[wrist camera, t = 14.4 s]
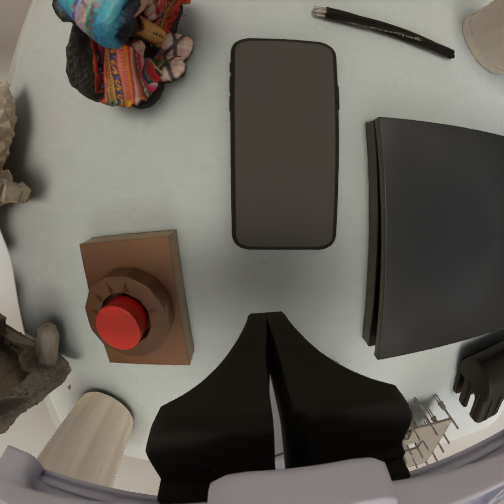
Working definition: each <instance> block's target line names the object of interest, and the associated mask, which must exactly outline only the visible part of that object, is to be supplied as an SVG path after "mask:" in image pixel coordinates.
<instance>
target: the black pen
mask: <svg viewBox="0 0 504 504" xmlns="http://www.w3.org/2000/svg"><path fill="white" fill-rule="evenodd" d="M314 8H317V9H321V10H317V9H313V11H314V12H320V13H323V14H319V13H313V15H317V16H322V17H325V18H327V19H332V20H337V21H342V22H347V23H350V24H355V25H360V26H363V27H366V28H370V29H373V30H376V31H379V32H382V33H385V34H388V35H391V36H394V37H396V38H399V39H402V40H405V41H408V42H411V43H413V44H416V45H419V46H422V47H424V48H427V49H430V50H433V51H435V52H437V53H439V54H441V55H443V56H445V57H447V58H449V59H451V58H454V57H455V55H454V53H455V51H454V50H452V49H450V48H448V47H445V46H443V45H440V44H438V43H435V42H433V41H431V40H429V39H427V38H425V37H423V36H420V35H418V34H416V33H413V32H411V31H408V30H406V29H403V28H400V27H397V26H394V25H391V24H388V23H385V22H381V21H378V20H374V19H370V18H366V17H362V16H359V15H355V14H352V13H349V12H345V11H341V10H337V9H333V8H329V7H326V8H324V7H318V6H315V7H314ZM322 10H326V11H322Z"/></svg>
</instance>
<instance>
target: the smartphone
mask: <svg viewBox="0 0 504 504" xmlns="http://www.w3.org/2000/svg"><path fill="white" fill-rule="evenodd" d="M230 72H231V77H230V93H231V96H230V122H231V212H232V238H233V240H234V242H235V244H236V245H237V246H239V247H241V248H244V249H249V250H320V249H325V248H327V247H329V246H331V245H332V244H333V242H334V240H335V237H336V224H337V203H338V170H339V113H338V110H339V86H338V83H337V64H336V54H335V52H334V50H333V49H332V48H331V47H330V46H328V45H327V44H324V43H321V42H313V41H301V40H287V39H260V38H248V39H242V40H239V41H237V42H236V43H235V44H233V46H232V49H231V63H230Z"/></svg>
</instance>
